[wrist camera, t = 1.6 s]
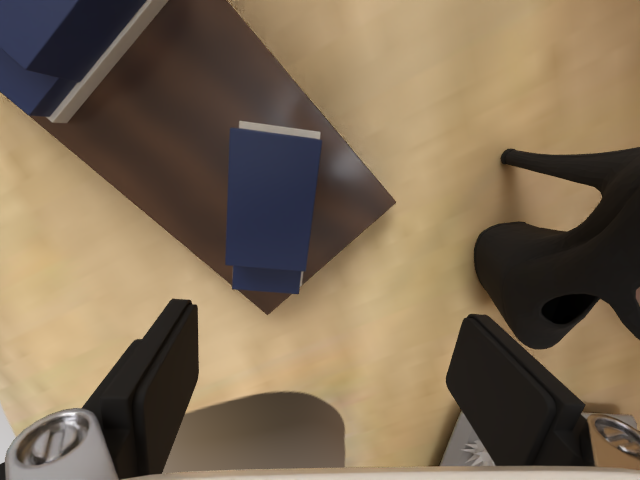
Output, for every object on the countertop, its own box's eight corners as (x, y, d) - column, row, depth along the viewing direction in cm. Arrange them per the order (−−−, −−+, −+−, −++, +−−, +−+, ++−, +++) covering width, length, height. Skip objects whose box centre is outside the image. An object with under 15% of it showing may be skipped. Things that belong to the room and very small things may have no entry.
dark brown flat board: (117, -123, 21) (89, -163, 18) (386, 195, 30) (396, 202, 27) (-14, 56, 23) (-56, 46, 21) (269, 299, 32) (267, 315, 29)
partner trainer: (104, -107, 19) (22, -209, 13) (182, -16, 21) (140, -73, 15) (-14, 54, 21) (-127, 25, 15) (67, 123, 23) (-8, 120, 17)
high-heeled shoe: (464, 310, 35) (666, 519, 16) (468, 135, 28) (811, 140, 10) (532, 299, 35) (809, 491, 16) (551, 123, 29) (1042, 103, 10)
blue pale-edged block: (242, 121, 24) (226, 117, 18) (319, 132, 24) (326, 131, 19) (235, 273, 28) (220, 309, 22) (301, 279, 29) (303, 315, 23)
